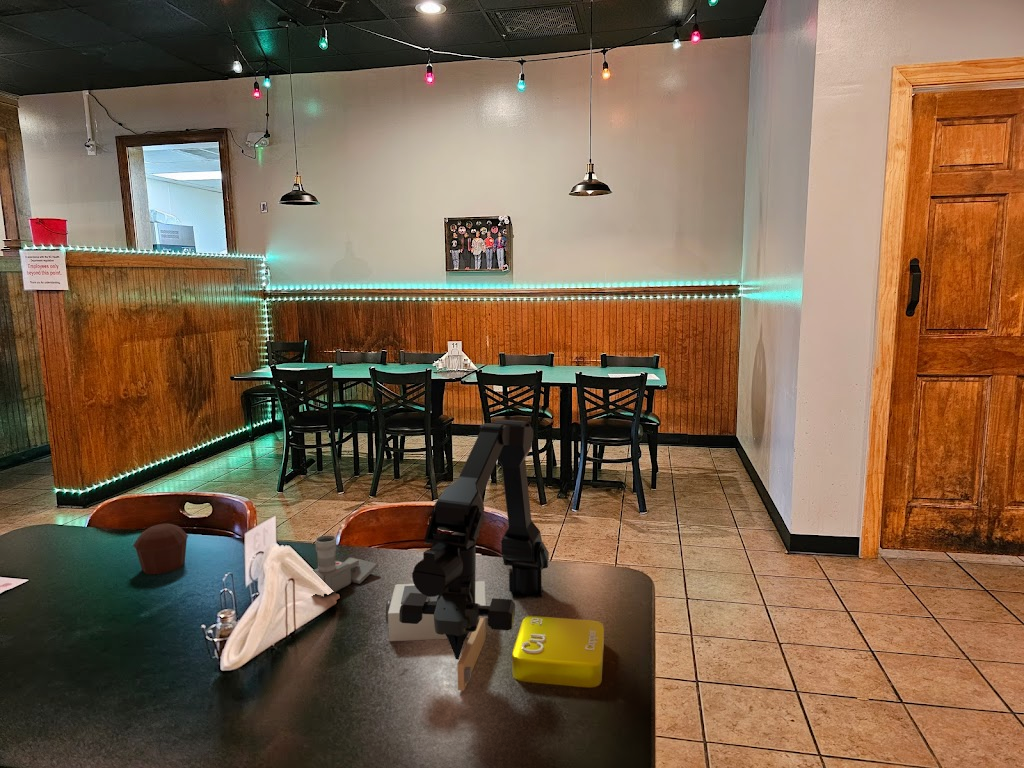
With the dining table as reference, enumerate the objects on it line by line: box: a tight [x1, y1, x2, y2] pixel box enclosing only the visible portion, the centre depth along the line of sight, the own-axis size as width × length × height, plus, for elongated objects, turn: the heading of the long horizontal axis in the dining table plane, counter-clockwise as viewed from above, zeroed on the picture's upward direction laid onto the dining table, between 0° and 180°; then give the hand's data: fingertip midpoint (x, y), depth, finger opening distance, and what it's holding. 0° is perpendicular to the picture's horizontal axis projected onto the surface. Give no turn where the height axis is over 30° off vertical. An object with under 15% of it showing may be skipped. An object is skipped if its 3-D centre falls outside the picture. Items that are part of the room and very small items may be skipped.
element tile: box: [511, 615, 605, 688], centre depth 114 cm, size 15×15×5 cm
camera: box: [312, 534, 379, 593], centre depth 145 cm, size 9×12×15 cm
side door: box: [456, 618, 487, 692], centre depth 113 cm, size 17×2×4 cm, turn 170°
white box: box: [385, 580, 487, 642], centre depth 127 cm, size 19×12×6 cm, turn 93°
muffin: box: [132, 523, 189, 575], centre depth 155 cm, size 12×11×10 cm
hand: (457, 658), depth 110 cm, fingers closed
